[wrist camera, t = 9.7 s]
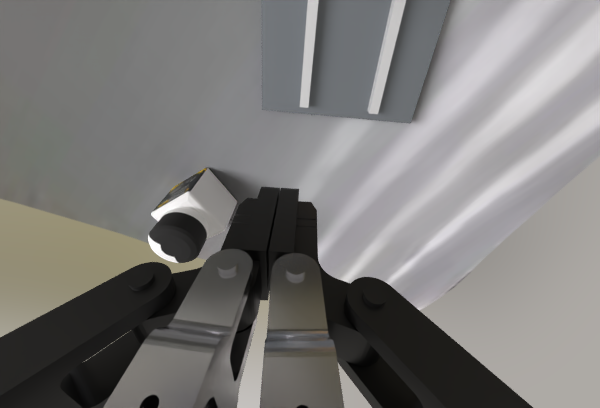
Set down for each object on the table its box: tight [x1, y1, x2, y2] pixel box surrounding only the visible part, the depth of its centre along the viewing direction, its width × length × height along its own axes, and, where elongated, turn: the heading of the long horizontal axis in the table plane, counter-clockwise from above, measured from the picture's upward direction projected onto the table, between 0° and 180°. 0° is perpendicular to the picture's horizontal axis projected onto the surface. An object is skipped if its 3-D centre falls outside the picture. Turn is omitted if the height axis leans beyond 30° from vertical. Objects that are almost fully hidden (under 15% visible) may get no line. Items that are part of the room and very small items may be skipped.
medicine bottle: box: [148, 168, 237, 263], centre depth 35 cm, size 7×7×12 cm
